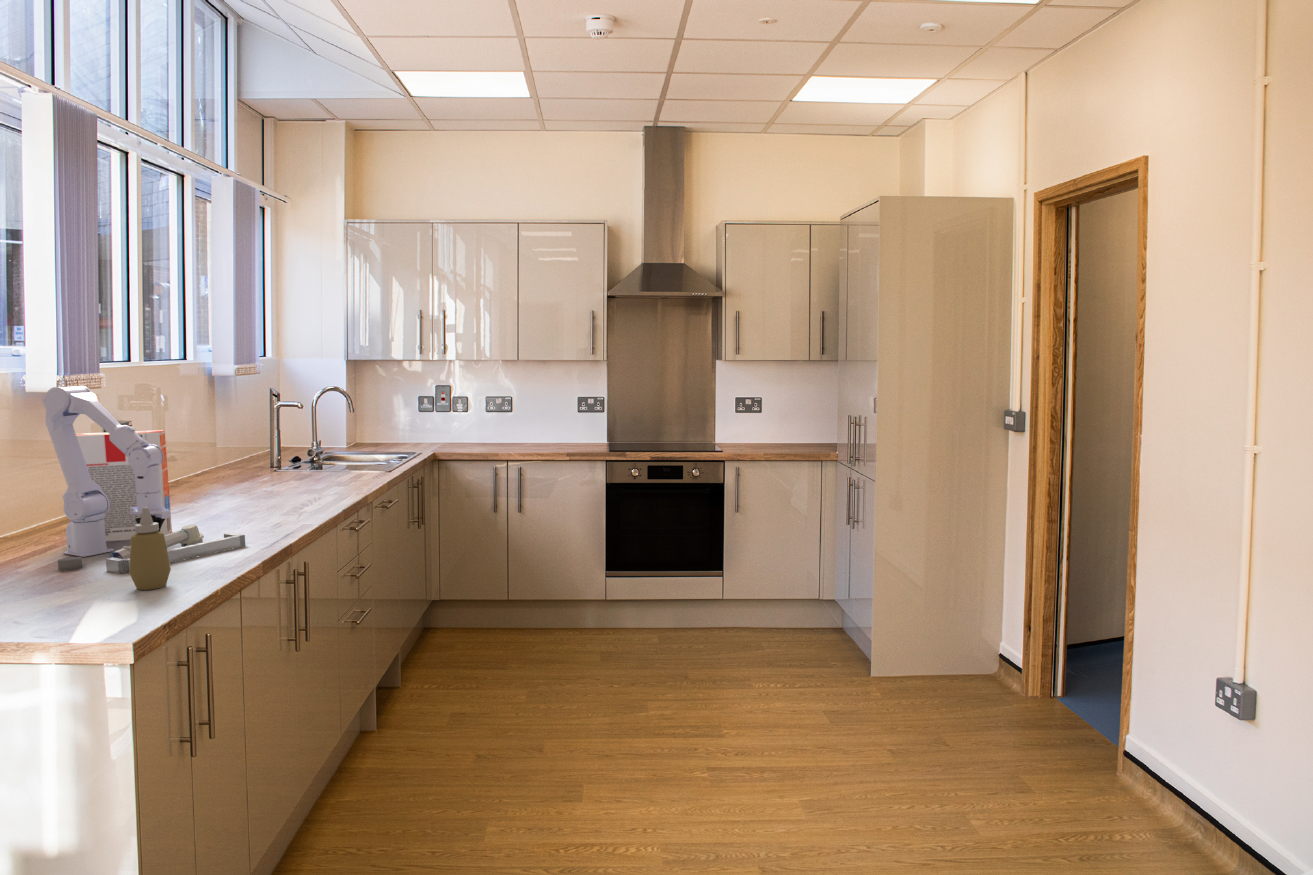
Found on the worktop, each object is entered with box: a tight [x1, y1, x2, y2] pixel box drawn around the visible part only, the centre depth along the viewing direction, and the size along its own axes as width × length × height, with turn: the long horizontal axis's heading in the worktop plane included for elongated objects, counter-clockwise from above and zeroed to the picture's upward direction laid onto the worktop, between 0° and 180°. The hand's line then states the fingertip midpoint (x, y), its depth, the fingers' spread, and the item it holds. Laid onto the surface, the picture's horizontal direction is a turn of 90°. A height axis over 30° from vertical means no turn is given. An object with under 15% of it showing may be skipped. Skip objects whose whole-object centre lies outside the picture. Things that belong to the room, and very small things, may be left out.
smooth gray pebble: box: [57, 556, 84, 572], centre depth 221 cm, size 5×5×2 cm
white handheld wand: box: [109, 524, 205, 559], centre depth 234 cm, size 5×7×25 cm
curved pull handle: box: [105, 532, 246, 575], centre depth 230 cm, size 7×33×3 cm, turn 151°
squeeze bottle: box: [129, 508, 172, 591], centre depth 201 cm, size 8×8×18 cm
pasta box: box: [76, 429, 173, 542], centre depth 256 cm, size 23×8×30 cm, turn 109°
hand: (152, 543), depth 236 cm, fingers closed
